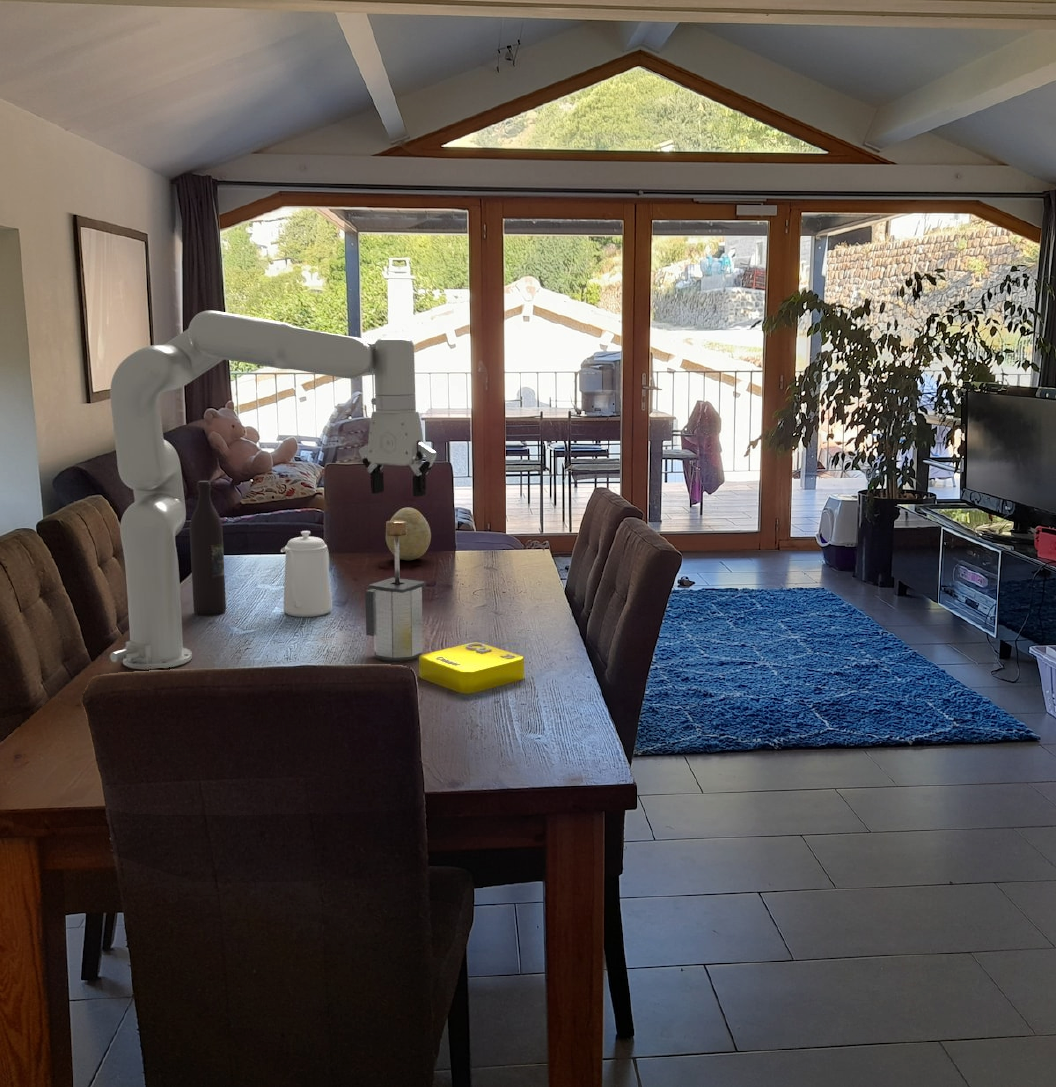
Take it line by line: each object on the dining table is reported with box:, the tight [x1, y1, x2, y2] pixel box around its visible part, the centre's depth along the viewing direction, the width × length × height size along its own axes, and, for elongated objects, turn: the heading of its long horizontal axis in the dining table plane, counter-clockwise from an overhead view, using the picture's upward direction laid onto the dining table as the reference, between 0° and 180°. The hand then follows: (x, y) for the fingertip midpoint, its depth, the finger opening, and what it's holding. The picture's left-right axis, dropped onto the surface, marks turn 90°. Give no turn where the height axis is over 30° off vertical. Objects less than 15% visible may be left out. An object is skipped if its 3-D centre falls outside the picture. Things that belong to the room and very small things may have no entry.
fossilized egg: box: [385, 507, 432, 561], centre depth 306 cm, size 13×13×15 cm
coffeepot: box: [280, 530, 333, 618], centre depth 245 cm, size 11×25×19 cm, turn 168°
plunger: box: [385, 520, 407, 585], centre depth 210 cm, size 7×7×14 cm
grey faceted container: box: [364, 577, 427, 663], centre depth 212 cm, size 9×12×15 cm
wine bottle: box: [189, 480, 227, 617], centre depth 243 cm, size 7×7×30 cm
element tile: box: [418, 641, 525, 694], centre depth 200 cm, size 15×15×5 cm
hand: (398, 494), depth 207 cm, fingers open, 9 cm apart
